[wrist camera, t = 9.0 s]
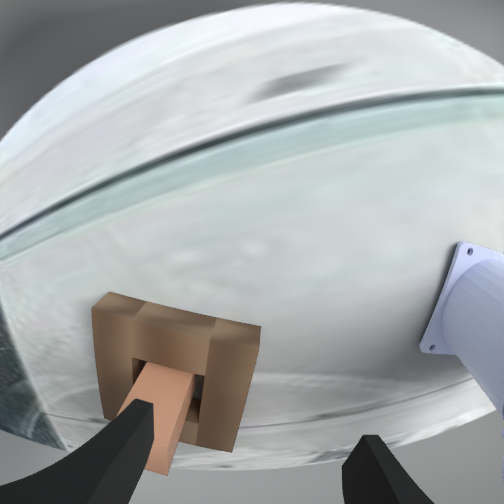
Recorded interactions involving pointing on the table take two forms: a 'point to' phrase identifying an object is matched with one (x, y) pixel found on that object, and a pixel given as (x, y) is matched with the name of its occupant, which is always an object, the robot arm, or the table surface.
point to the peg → (164, 409)
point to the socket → (176, 361)
